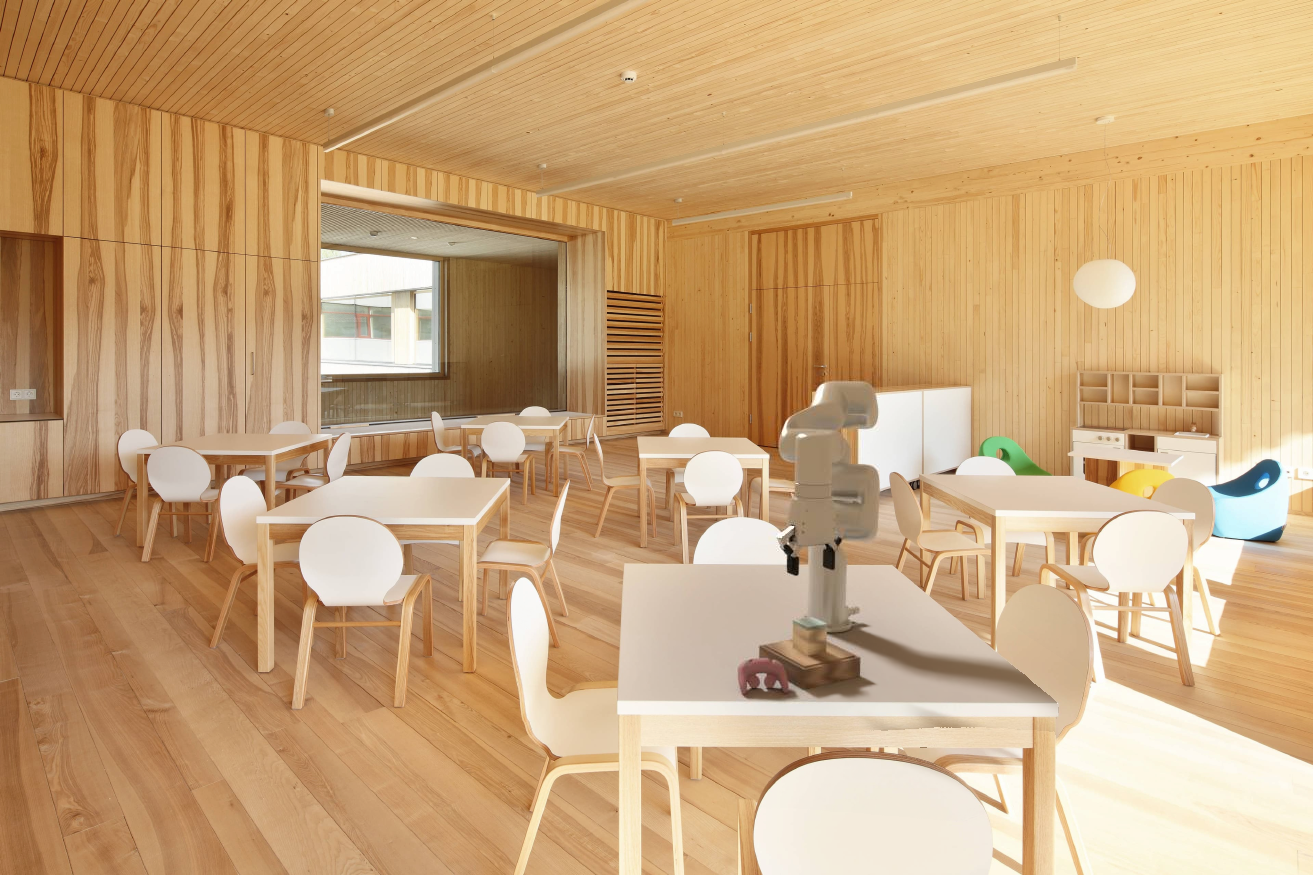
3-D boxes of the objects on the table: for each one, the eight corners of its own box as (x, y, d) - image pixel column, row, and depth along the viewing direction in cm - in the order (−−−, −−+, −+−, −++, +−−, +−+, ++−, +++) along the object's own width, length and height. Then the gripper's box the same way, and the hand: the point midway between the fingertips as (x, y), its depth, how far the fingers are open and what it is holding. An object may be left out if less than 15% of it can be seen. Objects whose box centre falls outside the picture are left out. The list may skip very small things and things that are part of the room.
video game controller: (785, 694, 145) (782, 658, 148) (790, 693, 141) (787, 655, 143) (737, 695, 144) (734, 659, 147) (741, 694, 140) (738, 656, 143)
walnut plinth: (812, 652, 164) (813, 633, 164) (859, 675, 151) (860, 655, 150) (758, 663, 157) (759, 644, 157) (803, 689, 144) (803, 668, 143)
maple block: (810, 644, 157) (811, 616, 156) (826, 651, 152) (827, 623, 152) (792, 647, 155) (792, 620, 154) (807, 655, 150) (808, 627, 150)
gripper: (832, 486, 158) (830, 562, 160) (768, 491, 150) (767, 572, 152) (856, 491, 152) (854, 570, 153) (791, 497, 144) (789, 581, 145)
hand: (811, 571), depth 153 cm, fingers open, 9 cm apart
